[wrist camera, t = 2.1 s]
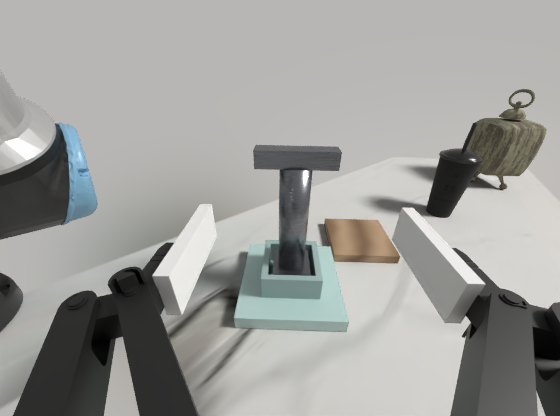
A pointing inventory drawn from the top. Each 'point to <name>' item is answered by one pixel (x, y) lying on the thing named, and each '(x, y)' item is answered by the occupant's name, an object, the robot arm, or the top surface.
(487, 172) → the tabletop clock
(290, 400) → the top surface
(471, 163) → the drinking cup
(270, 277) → the square socket base
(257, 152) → the t key
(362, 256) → the walnut pad
